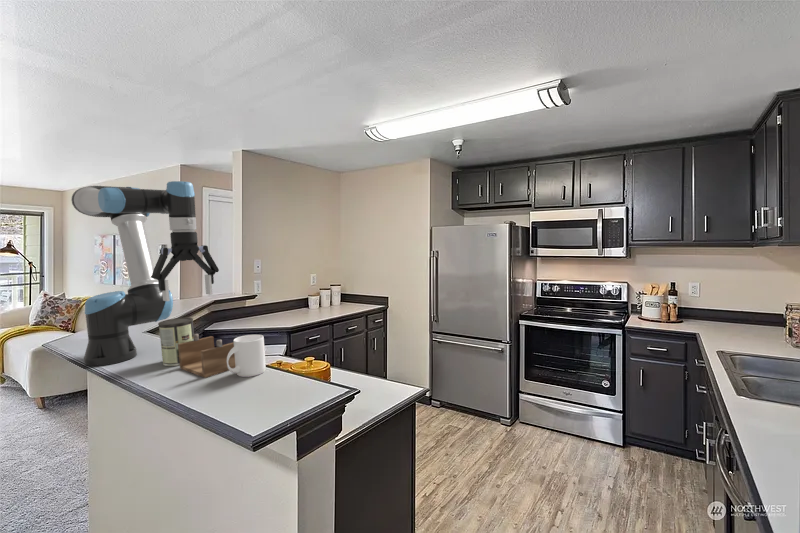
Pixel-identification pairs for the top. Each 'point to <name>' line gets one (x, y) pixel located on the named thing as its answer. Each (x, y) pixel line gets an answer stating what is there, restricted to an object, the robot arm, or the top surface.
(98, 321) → the robot arm
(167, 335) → the coffee can
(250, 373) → the mug
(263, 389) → the top surface
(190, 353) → the cradle
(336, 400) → the top surface
